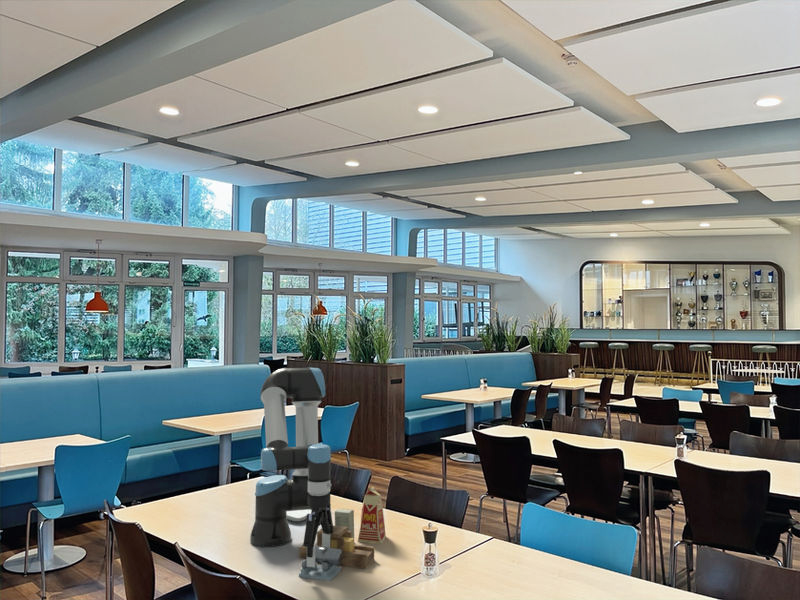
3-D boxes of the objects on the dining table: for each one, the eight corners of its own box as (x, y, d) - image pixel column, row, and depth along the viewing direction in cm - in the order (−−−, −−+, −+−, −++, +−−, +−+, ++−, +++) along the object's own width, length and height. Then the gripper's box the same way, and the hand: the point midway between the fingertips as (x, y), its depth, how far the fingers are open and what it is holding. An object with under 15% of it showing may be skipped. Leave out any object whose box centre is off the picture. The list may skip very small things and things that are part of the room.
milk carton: (380, 543, 237) (381, 489, 237) (357, 541, 238) (357, 488, 239) (386, 535, 245) (386, 483, 246) (363, 533, 247) (363, 482, 248)
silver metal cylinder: (307, 563, 207) (308, 547, 207) (314, 558, 212) (315, 543, 212) (336, 567, 204) (337, 552, 204) (342, 563, 209) (342, 547, 209)
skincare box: (354, 542, 238) (354, 509, 238) (350, 546, 234) (350, 512, 234) (339, 540, 240) (339, 507, 240) (334, 544, 236) (334, 511, 236)
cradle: (298, 576, 206) (298, 561, 206) (310, 566, 214) (310, 551, 215) (330, 580, 203) (330, 565, 203) (340, 570, 211) (340, 555, 211)
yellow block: (330, 551, 219) (330, 539, 219) (335, 547, 223) (335, 536, 223) (349, 553, 217) (349, 541, 217) (354, 549, 221) (354, 538, 221)
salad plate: (331, 512, 276) (331, 504, 276) (299, 526, 258) (299, 517, 258) (294, 505, 287) (294, 497, 287) (261, 517, 269) (261, 509, 269)
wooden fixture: (295, 559, 220) (295, 529, 221) (306, 551, 228) (306, 522, 229) (366, 568, 213) (366, 537, 213) (374, 559, 221) (374, 529, 221)
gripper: (314, 503, 197) (313, 574, 196) (343, 484, 220) (343, 548, 219) (292, 501, 199) (291, 572, 199) (323, 483, 222) (323, 546, 221)
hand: (318, 559), depth 209 cm, fingers open, 11 cm apart
